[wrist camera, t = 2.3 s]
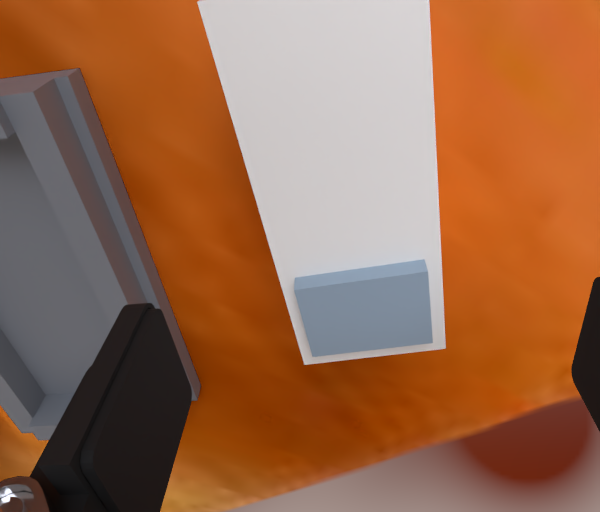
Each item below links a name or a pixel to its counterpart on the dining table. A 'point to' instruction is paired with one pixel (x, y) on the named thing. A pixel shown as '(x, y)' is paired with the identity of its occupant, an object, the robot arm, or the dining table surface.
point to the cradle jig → (63, 248)
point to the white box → (340, 164)
